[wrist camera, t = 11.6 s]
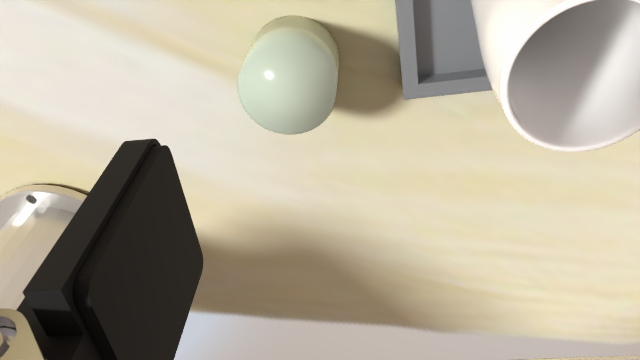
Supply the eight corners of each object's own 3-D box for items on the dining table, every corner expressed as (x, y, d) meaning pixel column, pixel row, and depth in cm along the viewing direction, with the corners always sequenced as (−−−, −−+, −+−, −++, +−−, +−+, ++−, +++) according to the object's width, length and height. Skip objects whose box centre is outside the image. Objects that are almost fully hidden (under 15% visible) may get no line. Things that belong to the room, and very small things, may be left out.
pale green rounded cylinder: (344, 93, 40) (342, 129, 36) (261, 103, 41) (249, 139, 36) (332, 9, 36) (328, 37, 32) (242, 21, 37) (226, 51, 33)
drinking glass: (592, -31, 33) (725, 77, 21) (498, 49, 36) (566, 183, 24) (521, -118, 31) (623, -55, 19) (427, -26, 34) (462, 81, 22)
